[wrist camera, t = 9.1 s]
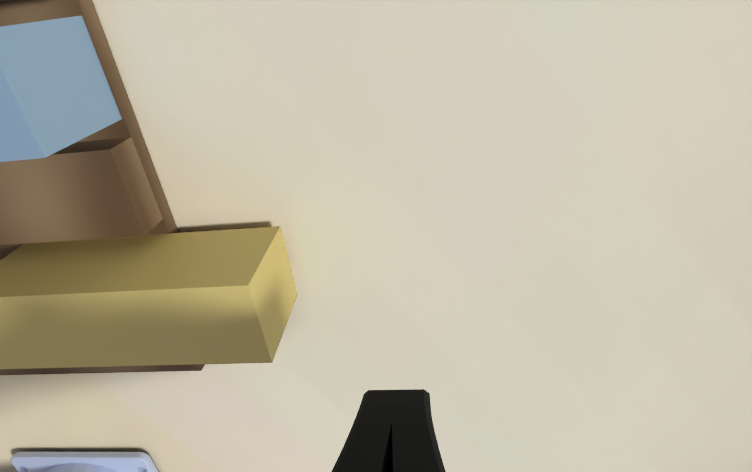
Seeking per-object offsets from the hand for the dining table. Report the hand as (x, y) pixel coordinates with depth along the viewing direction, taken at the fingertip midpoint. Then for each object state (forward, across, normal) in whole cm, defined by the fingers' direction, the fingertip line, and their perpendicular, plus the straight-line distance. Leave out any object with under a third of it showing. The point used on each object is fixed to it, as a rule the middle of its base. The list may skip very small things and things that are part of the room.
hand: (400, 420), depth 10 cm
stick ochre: (+7, +9, 0) cm, 12 cm away
